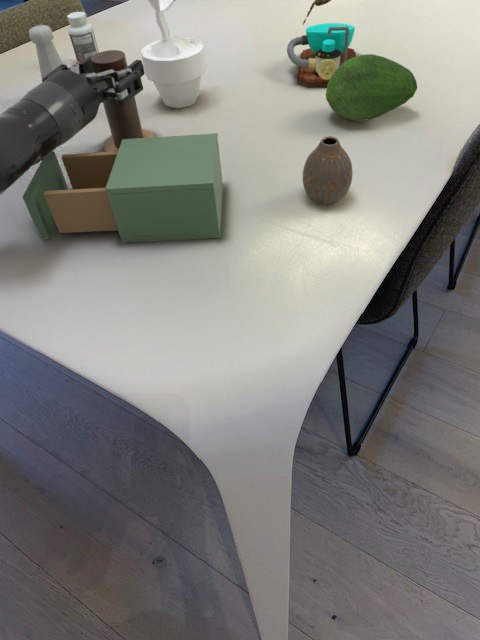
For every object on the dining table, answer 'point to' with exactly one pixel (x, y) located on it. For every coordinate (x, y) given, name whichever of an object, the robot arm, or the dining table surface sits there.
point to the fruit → (369, 87)
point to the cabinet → (167, 188)
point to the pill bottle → (82, 36)
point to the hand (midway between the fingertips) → (117, 64)
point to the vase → (327, 172)
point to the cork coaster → (111, 147)
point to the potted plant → (174, 62)
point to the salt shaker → (45, 49)
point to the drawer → (71, 194)
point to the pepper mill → (119, 116)
